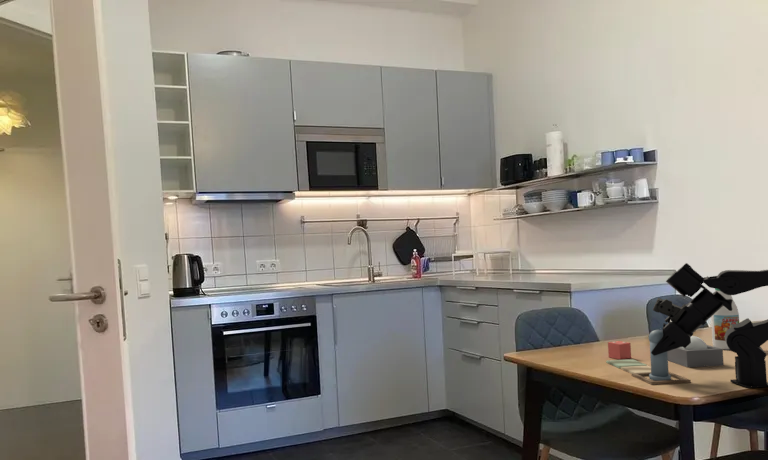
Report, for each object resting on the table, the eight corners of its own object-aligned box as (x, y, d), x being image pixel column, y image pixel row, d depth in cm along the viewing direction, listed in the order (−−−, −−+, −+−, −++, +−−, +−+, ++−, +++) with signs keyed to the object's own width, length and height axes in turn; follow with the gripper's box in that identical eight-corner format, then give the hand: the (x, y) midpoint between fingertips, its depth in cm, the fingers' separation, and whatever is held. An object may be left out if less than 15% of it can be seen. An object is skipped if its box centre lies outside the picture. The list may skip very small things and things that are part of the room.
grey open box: (723, 365, 158) (722, 349, 158) (687, 367, 157) (686, 350, 157) (700, 358, 168) (699, 342, 168) (666, 360, 168) (665, 344, 168)
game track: (690, 382, 141) (690, 379, 141) (651, 384, 140) (651, 382, 140) (636, 361, 168) (636, 358, 168) (603, 362, 167) (602, 360, 167)
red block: (631, 357, 173) (630, 342, 173) (620, 359, 171) (619, 343, 171) (619, 355, 177) (618, 340, 177) (608, 357, 175) (607, 341, 175)
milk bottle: (707, 347, 184) (703, 285, 185) (724, 345, 187) (721, 283, 188) (729, 351, 177) (725, 286, 178) (746, 348, 180) (743, 285, 180)
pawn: (675, 380, 143) (672, 330, 144) (655, 381, 143) (653, 331, 143) (664, 376, 148) (661, 328, 149) (645, 377, 148) (643, 328, 148)
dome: (714, 362, 159) (712, 337, 160) (689, 363, 159) (688, 338, 159) (698, 357, 167) (697, 333, 167) (674, 358, 166) (673, 334, 166)
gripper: (672, 284, 153) (630, 324, 158) (672, 290, 136) (624, 335, 141) (707, 314, 149) (663, 354, 154) (711, 324, 132) (661, 369, 137)
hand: (652, 352), depth 147 cm, fingers closed on pawn, 4 cm apart
